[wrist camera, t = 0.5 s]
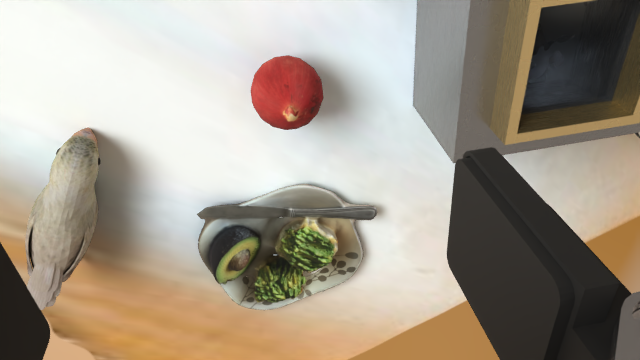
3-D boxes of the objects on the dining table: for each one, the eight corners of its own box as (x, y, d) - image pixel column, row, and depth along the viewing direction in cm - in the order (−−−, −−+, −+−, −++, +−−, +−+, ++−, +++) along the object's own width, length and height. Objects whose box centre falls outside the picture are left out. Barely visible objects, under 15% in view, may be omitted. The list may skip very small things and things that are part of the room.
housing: (420, -82, 37) (494, -48, 27) (616, -105, 39) (753, -80, 29) (413, 105, 47) (465, 180, 37) (569, 81, 48) (660, 147, 38)
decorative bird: (122, 132, 44) (107, 182, 38) (86, 258, 51) (70, 315, 45) (56, 114, 42) (29, 163, 36) (29, 247, 49) (4, 306, 43)
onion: (323, 51, 42) (343, 92, 36) (304, 110, 45) (318, 157, 39) (258, 34, 40) (265, 74, 34) (241, 96, 43) (246, 143, 37)
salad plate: (353, 142, 49) (364, 168, 45) (391, 257, 59) (403, 286, 56) (173, 208, 50) (170, 239, 46) (243, 310, 60) (245, 341, 57)
